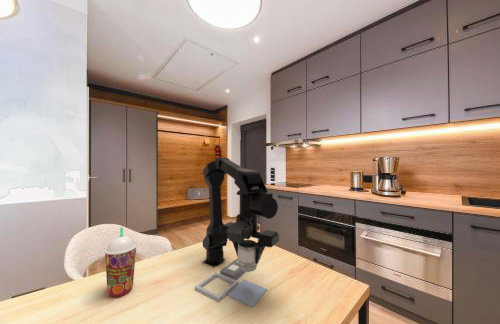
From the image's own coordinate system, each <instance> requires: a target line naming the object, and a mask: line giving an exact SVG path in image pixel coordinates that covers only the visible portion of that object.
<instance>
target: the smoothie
mask: <svg viewBox="0 0 500 324" xmlns="http://www.w3.org/2000/svg"><path fill="white" fill-rule="evenodd" d="M119 233H120V234H119V235H118V236H117V237H114V238H113V239H112V240H111V241H110V242H109V243H108V245H107V247H106V249H105V250H104V253H105V254H104V257H105V258H104V259H105V273H106V289H107V290H106V292H107V293H108V295H109V296H110V297H112V298H119V297H122V296H124V295H126V294H128V293H129V292H130V291H131V290H132V287H133V285H134V279H135V266H136V265H135V264H136V255H137V253H136V252H137V246H138V245H137V243H136V242H135V240H134V239H133V238H132V237H131V236H128V235H124V227H122V226H121V227H120V232H119Z"/></svg>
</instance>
